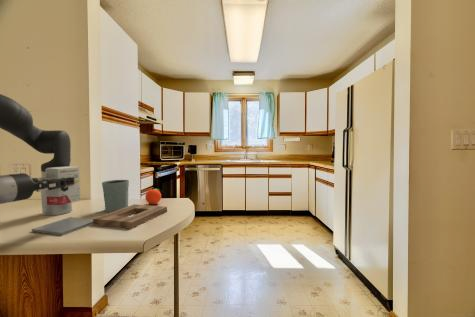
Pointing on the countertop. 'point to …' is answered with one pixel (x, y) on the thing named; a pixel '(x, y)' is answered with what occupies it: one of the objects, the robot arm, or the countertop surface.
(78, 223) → the slate tile
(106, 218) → the frame
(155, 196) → the clementine
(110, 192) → the grey cup
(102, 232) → the countertop surface
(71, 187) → the ink box
